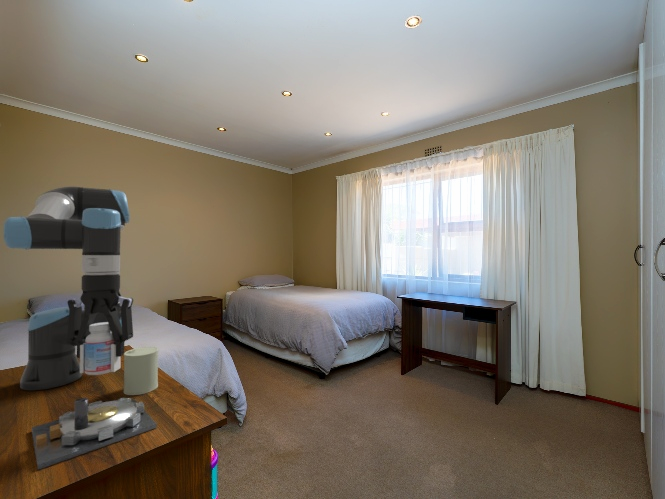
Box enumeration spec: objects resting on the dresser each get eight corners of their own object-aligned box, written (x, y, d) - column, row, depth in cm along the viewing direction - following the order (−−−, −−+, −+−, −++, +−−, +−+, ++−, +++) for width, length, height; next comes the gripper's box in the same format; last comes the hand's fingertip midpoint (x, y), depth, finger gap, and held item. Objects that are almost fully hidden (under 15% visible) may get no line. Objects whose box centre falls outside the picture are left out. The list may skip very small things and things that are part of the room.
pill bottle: (100, 377, 73) (100, 327, 74) (78, 375, 75) (78, 326, 75) (122, 367, 79) (122, 321, 79) (101, 365, 81) (101, 320, 81)
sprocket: (26, 443, 68) (26, 406, 68) (93, 404, 86) (93, 374, 86) (108, 446, 67) (109, 408, 68) (158, 405, 85) (159, 376, 86)
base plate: (31, 431, 75) (31, 422, 75) (134, 401, 90) (134, 394, 90) (37, 470, 62) (37, 458, 62) (156, 427, 77) (156, 418, 77)
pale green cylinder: (127, 385, 102) (127, 347, 102) (160, 381, 105) (160, 344, 105) (119, 397, 93) (120, 355, 93) (155, 392, 96) (156, 352, 97)
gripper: (46, 274, 73) (44, 378, 72) (135, 274, 74) (134, 374, 74) (69, 272, 80) (68, 366, 80) (150, 272, 82) (149, 363, 82)
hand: (100, 370), depth 77 cm, fingers closed on pill bottle, 6 cm apart
